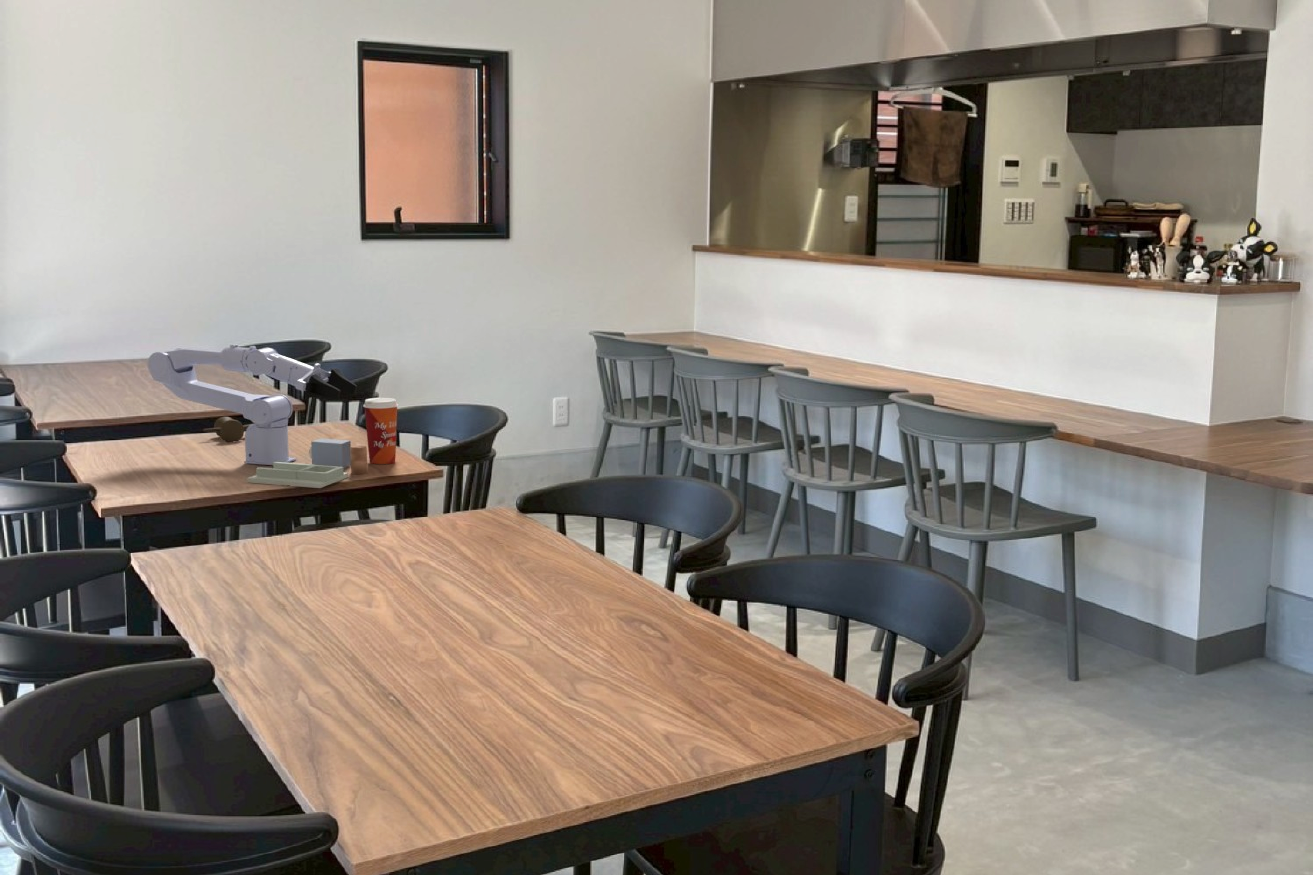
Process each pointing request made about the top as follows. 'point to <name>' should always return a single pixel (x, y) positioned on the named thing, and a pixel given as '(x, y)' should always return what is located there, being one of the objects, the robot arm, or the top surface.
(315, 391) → the robot arm
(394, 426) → the coffee cup
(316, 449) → the grey-blue box block
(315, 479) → the tray
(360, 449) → the tail peg
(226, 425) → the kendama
